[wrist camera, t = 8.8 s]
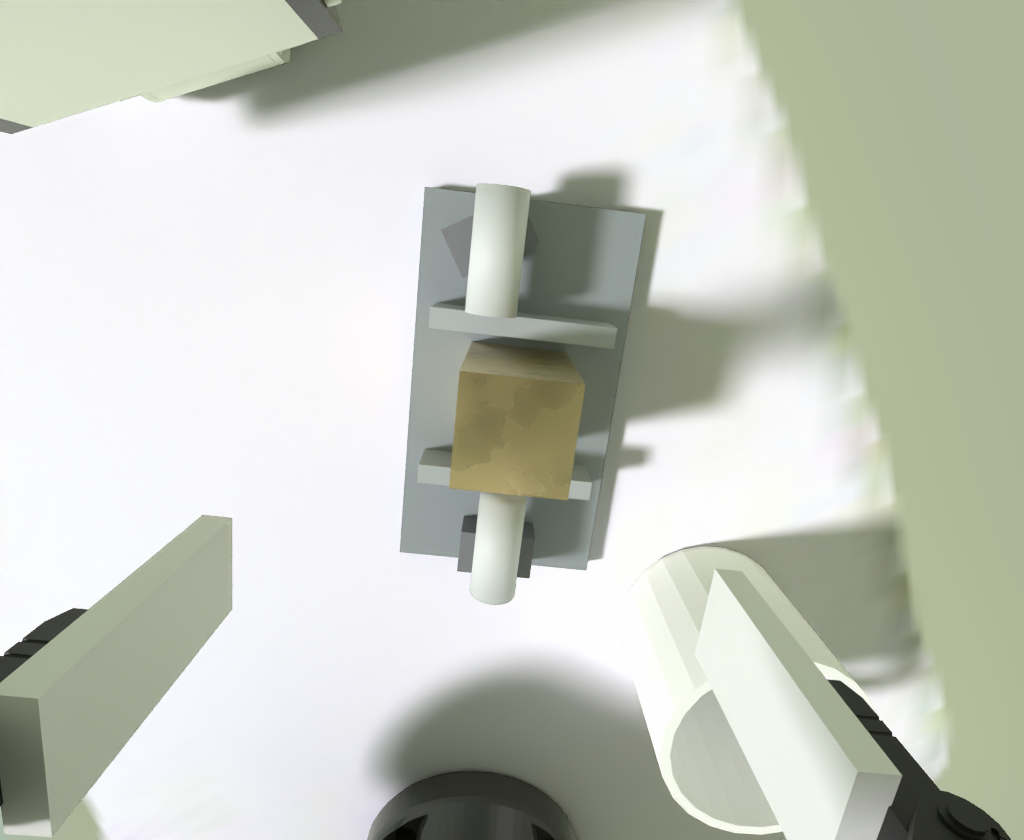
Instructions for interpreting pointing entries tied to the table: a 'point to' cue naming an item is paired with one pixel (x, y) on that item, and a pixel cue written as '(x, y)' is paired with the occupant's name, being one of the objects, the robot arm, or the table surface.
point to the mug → (702, 685)
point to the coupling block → (516, 421)
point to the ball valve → (140, 49)
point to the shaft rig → (521, 323)
